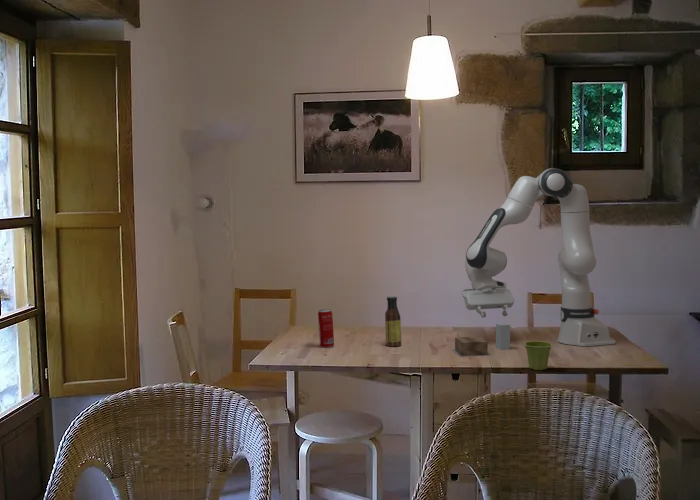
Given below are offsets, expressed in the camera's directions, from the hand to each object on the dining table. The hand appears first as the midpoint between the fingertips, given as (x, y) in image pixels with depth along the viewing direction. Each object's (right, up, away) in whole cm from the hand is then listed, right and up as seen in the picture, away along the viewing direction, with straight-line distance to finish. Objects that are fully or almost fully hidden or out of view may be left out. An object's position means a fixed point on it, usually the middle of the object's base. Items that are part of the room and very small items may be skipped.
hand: (494, 316), depth 292 cm
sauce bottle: (-40, -13, +5) cm, 42 cm away
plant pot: (+8, -15, -36) cm, 40 cm away
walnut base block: (-11, -13, -12) cm, 21 cm away
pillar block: (+2, -13, -5) cm, 14 cm away
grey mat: (-11, -13, -12) cm, 21 cm away
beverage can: (-67, -13, +4) cm, 68 cm away
